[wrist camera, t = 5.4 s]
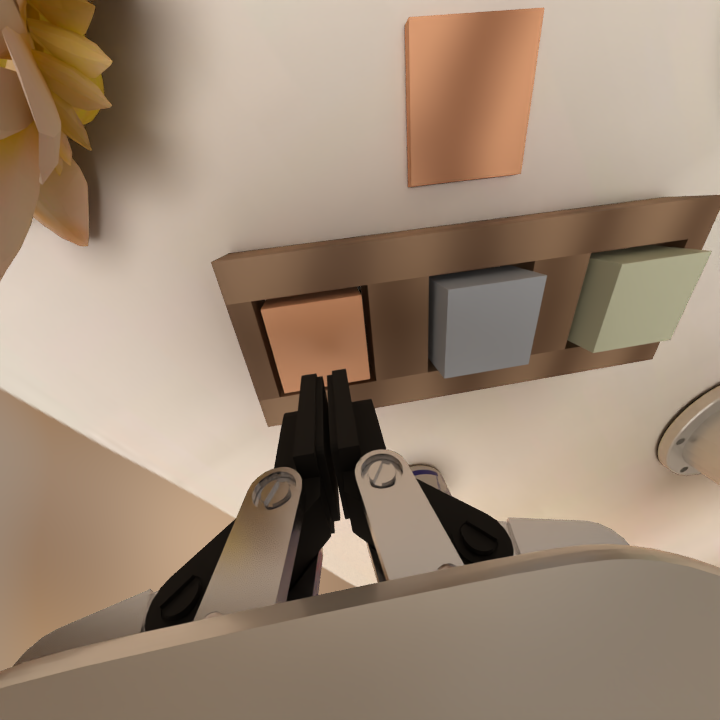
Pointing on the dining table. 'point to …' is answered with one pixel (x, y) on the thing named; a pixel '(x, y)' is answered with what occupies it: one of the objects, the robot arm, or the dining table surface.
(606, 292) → the sage button
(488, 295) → the slate button
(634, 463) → the dining table surface
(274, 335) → the terracotta button
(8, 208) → the decorative flower
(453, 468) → the dining table surface
